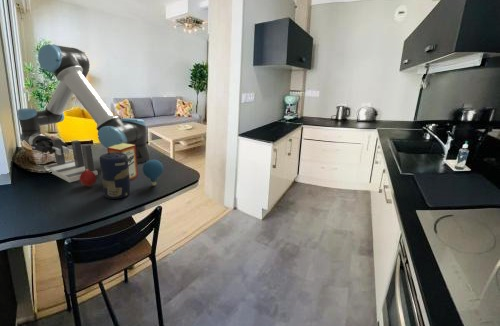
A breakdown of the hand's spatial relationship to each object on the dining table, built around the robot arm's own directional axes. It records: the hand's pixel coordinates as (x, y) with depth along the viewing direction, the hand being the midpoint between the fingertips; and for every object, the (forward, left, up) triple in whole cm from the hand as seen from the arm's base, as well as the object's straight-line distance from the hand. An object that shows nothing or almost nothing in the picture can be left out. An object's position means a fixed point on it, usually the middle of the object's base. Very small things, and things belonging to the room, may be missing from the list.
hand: (64, 151), depth 116 cm
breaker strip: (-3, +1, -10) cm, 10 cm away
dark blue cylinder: (-38, +14, -10) cm, 42 cm away
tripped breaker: (+5, -2, -7) cm, 9 cm away
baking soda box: (-30, -1, -10) cm, 32 cm away
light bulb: (-46, +1, -10) cm, 47 cm away
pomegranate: (-22, +11, -10) cm, 27 cm away
